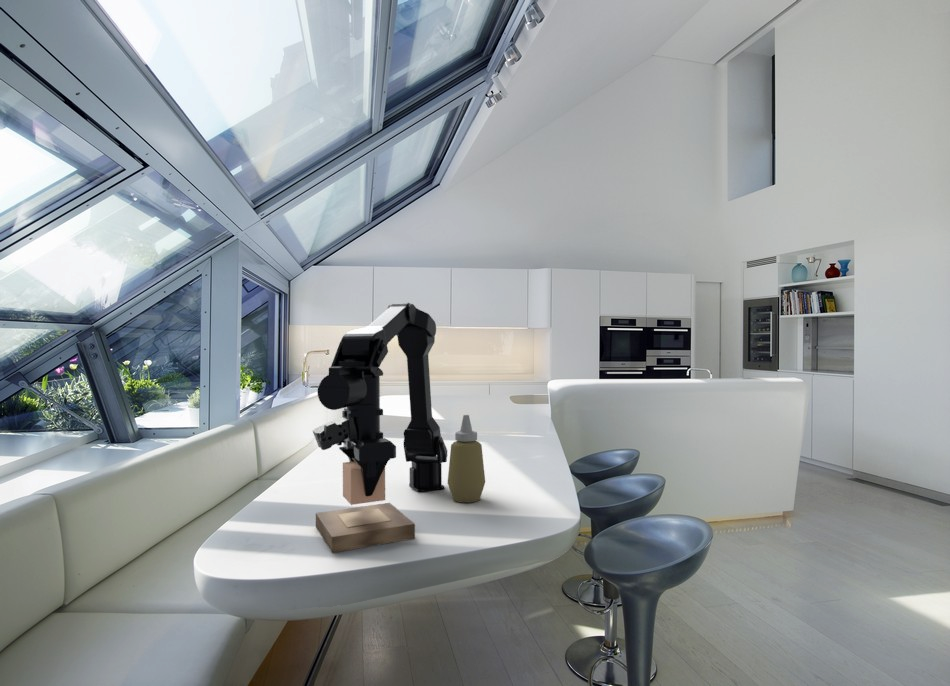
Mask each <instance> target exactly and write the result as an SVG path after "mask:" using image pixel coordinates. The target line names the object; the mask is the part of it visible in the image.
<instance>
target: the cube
mask: <svg viewBox="0 0 950 686" xmlns="http://www.w3.org/2000/svg"><path fill="white" fill-rule="evenodd" d="M342 497H343V498H344V499H345V500H346V501H347V502H348V503H349V504H350V505H351V506H353V505H360V504H369V503H373V502H383V501H386V467H385V468H384V470H383V472H382V474H381V476H380V479H379V481H378V483H377V485H376V488H375V490H374V492H373V494H372V496H366V495H365V491H364V485H363V479H362V473H361V467H360V465H358V464H357V463H356V462H355V461H354V462H350V461H345V462H342Z"/></svg>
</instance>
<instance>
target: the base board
mask: <svg viewBox="0 0 950 686" xmlns="http://www.w3.org/2000/svg"><path fill="white" fill-rule="evenodd" d="M315 529H317V532H318V533H319V534H320V536H321V538H322V540H324V542H325V544H326V545H327V547H328V548H329V550H330V552H331V554H332V553H340V552H345V551H349V550H350V551H351V550H356V549H357V550H358V549H361V548H367V547H373V545H374V546H378V544H380V545H385V544H384V543H386V544H391V543H395V542H402V541H407V540H414V539H416V525H415V522H413V521H412V520H411V519H410V518H409V517H408V516H407V515H405V514H404V513H403V512H401V511H400V510H399V509H398V508H397V507H396V506H395V505H393V504H392V503H391V502H385V503H378V504H370V505H363V506H356V507H348V508H343V509H342V508H341V509H333V510H327V511H321V512H315ZM390 542H391V543H390Z"/></svg>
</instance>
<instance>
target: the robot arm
mask: <svg viewBox="0 0 950 686" xmlns="http://www.w3.org/2000/svg"><path fill="white" fill-rule="evenodd" d="M436 334H437V325H436V321H435V319H433V317H432V316H431V315H430V314H429V313H427V312H425V311H424V310H421V309H419V308H417V307H416V306H415V305H414V304H413V303H410V302H393V303H391V304H389V305H388V306H387V309H385V310H384V312H382V313H381V314H380V315H379V316H378V317H377V318H375V319H374V320H373V321H372V322H371V323H369V324H368V325H367V326H365V327H360V328H357V329H352V330H350V331H348V332H346V333H344V335H343V336H342V337H341V340H340V341H339V344H338V347H337V349H336V352H335V355H334V358H333V360H332V362H331V365H330V367H328V374H327V375H325V376H324V377H323V378H322V379H321V381H320V382H319V385H318V387H317V398H318V401H319V402H320V404H321V405H322V406H323V407H325V408H326V409H328V410H331V411H336V410H340V409H343V410H342V412H341V413H342V417H340V418H337V419H333V420H332V421H329V422H327V423H325V424H322V425H320V426H318V427H315V428H314V429H313V430H312V433H313V436H314V438H315V440H316V443H317V445H318V448H320V449H321V450H322V451H325V450H328V449H330V448H332V446H334V445H337V446H340V447H338V449H339V450H340V451H341V452H342V453H343V454H344V455H346V456H347V458H348V462H354V461H355V462H356V463H357V464H358V465H360V467H361V473H362V479H363V485H364V491H365V495H366V496H372V494H373V492H374V490H375V488H376V485H377V483H378V481H379V479H380V476H381V474H382V472H383V470H384V468H385V469H386V466H387V464H388V462H389V461H390V460H391V459H396V458H397V446H396V444H394V443H393V441H391V440H389V439H387V438H384V432H383V431H381V428H380V427H381V426H380V425H381V423H380V422H381V419H380V418H381V416H384V409H383V408H381V407H380V406H381V405H380V404H381V402H380V400H381V399H380V398H381V397H380V396H381V395H380V393H381V392H380V391H381V390H380V389H381V388H380V385H381V384H380V383H381V382H380V378H381V377H383V376H384V371H383V370H382V369H381V368H380V367H381V364H382V362H383V361H384V360H385V358H386V356H387V355H388V353H389V349H388V344H389V343H390V342H391V341H392V340H393V339H394V338H395V337H397V342H398V346H399V348H400V349H401V351H402V352H403V354H404V355H405V357H406V363H407V364H406V366H407V377H408V379H407V380H408V381H407V382H408V390H409V391H408V393H409V410H410V422H409V423H408V425H407V426H406V428H405V429H404V431H403V438H404V439H403V450H404V456H405V462H407V463H408V462H411V466H410V467H409V485H408V486H409V487H410V488H412V489H414V490H415V491H417V492H419V493H421V492H427V491H435V490H441V489H442V490H443V489H445V485H443V483H442V478H443V477H442V474H443V473H442V463H447V461H448V460H447V459H448V448H447V446H446V443H445V441H444V439H443V437H442V435H441V428H440V425H439V424H438V423H437V421H436V420H435V418H434V417H433V412H432V411H433V410H432V397H431V392H432V391H431V380H430V379H431V378H430V364H429V363H430V362H429V360H430V359H429V354H430V352H431V350H432V347H433V346H434V345H435V341H436V340H435V339H436V338H435V336H436ZM342 445H343V446H342Z"/></svg>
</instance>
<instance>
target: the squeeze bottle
mask: <svg viewBox="0 0 950 686" xmlns="http://www.w3.org/2000/svg"><path fill="white" fill-rule="evenodd" d="M454 439H455V441H454V442H453V443H452V444H451V445H450V455H449V462H448V463H449V465H448V474H447V485H448V489H449V491H450V495H451V497H452V500H453V501H455V502H459V503H465V502H466V503H474V502H478V501H480V499H481V498H482V494H483V490H484V488H485V484H486V476H485V466H484V457H483V455H484V454H483V448H482V443H480V441H477V440H478V432H477V431H474V430H473V428H472V423H471V419H470V415H469V414H463V416H462V420H461V425H460V430H459V431H455V436H454Z"/></svg>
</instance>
